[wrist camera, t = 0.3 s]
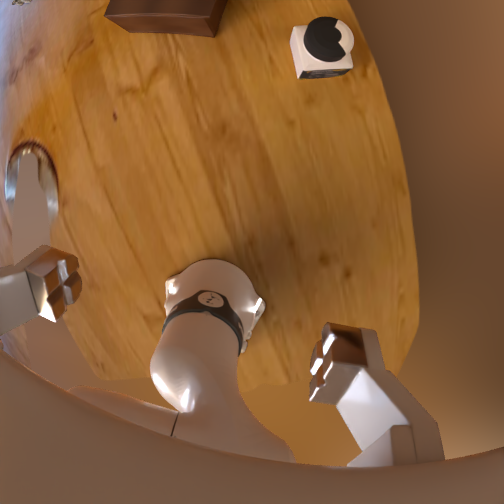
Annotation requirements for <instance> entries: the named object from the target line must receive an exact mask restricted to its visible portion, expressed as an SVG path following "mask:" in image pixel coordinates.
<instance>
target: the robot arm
mask: <svg viewBox="0 0 504 504" xmlns="http://www.w3.org/2000/svg"><path fill="white" fill-rule="evenodd" d="M78 268H79V263H78V258H77V257H76V256H74V255H72V254H70V253H67V252H64V251H61V250H59V249H56V248H53V247H50V246H48V245H41V246H40V247H39V248H37V249H36V250H34V251H33V252H32V253H30V254H29V255H28V256H26V257H25V258H24V259H22V260H21V261H20V262H19V263H17V264H16V265H15V266H14V265H9V266H5V267H2V268H0V336H1V335H3V334H5V333H7V332H9V331H11V330H12V329H14V328H16V327H18V326H20V325H22V324H24V323H26V322H28V321H30V320H32V319H34V318H36V317H38V316H39V315H41V316H43V317H45V318H47V319H49V320H51V321H53V322H57V321H58V320H59V319H60V317H61V316H62V315H63V314H64V313H65V312H66V311H67V305H70V304H73V303H74V302H75V301H76V300H77V299H78V298H79V295H80V293H81V290H82V281H81V277H80V275H79V274H78V272H77V270H78ZM165 288H166V301H165V304H164V307H165V308H166V315H167V317H166V319H165V322H164V325H163V329H162V336H161V339H160V341H159V343H158V345H157V347H156V349H155V351H154V354H153V356H152V358H151V363H150V373H151V377H152V380H153V382H154V384H155V386H156V388H157V390H158V391H159V393H160V394H161V395H162V396H163V398H165V399H166V400H167V401H168V402H169V403H170V404H172V405H173V406H174V407H175V408H176V409H177V410H178V411H179V412H180V413H179V412H178V411H175V410H171V409H168V408H164V407H161V406H157V405H154V404H151V403H148V402H145V401H142V400H139V399H136V398H133V397H130V396H128V395H125V394H122V393H119V392H114V391H109V390H104V389H98V388H93V387H88V386H83V385H78V386H75V387H73V388H71V389H69V390H68V391H65V390H64V389H62V388H60V387H58V386H57V385H55V384H53V383H51V382H49V381H48V380H46V379H45V378H43V377H41V376H40V375H38V374H37V373H35V372H34V371H32V370H30V369H29V368H27V367H26V366H24V365H23V364H21V363H20V362H18V361H17V360H16V359H14V358H13V357H11V356H10V355H9V354H7V353H6V352H4V351H3V343H2V341H1V339H0V504H504V447H501V448H497V449H494V450H490V451H486V452H482V453H478V454H474V455H470V456H465V457H459V458H454V459H449V460H445V457H444V451H443V447H442V442H441V437H440V432H439V428H438V424H437V422H436V421H435V420H434V419H433V418H432V417H431V415H430V414H429V413H428V412H427V411H426V410H425V409H424V408H423V407H422V405H421V404H420V403H419V402H418V401H417V400H416V399H415V398H414V397H413V396H412V394H411V393H409V391H408V390H407V389H406V388H405V387H404V386H403V385H402V384H401V382H400V381H399V380H398V379H397V378H396V377H395V376H394V375H393V374H392V373H391V372H390V371H387V370H385V366H384V362H383V357H382V353H381V349H380V345H379V341H378V337H377V333H376V331H375V330H373V329H366V328H360V327H359V328H357V327H351V326H346V325H341V324H335V323H330V322H327V323H326V324H325V326H324V328H323V330H322V339H321V340H320V341H318V342H317V343H316V345H315V347H314V350H313V353H312V357H311V362H310V372H311V374H312V375H313V378H312V380H311V382H310V395H309V397H310V398H309V401H313V402H319V403H325V404H332V405H337V406H336V407H337V409H338V411H339V412H340V414H341V416H342V418H343V419H344V421H345V423H346V424H347V426H348V428H349V430H350V431H351V433H352V435H353V436H354V438H355V440H356V442H357V443H358V445H359V447H360V448H361V450H362V453H361V454H359V455H358V456H357V457H356V458H355V459H353V460H352V461H351V462H349V463H348V464H347V467H341V466H322V465H309V464H298V463H296V460H295V457H294V455H293V452H292V451H291V449H290V447H289V446H288V445H287V443H286V442H285V441H284V440H283V439H281V438H280V437H278V436H277V435H275V434H273V433H272V432H271V431H269V430H268V429H267V428H266V427H265V426H263V424H261V423H260V422H259V421H258V420H257V418H256V417H255V416H254V415H253V414H252V412H251V411H250V410H249V408H248V407H247V405H246V404H245V402H244V400H243V398H242V396H241V394H240V391H239V388H238V384H237V360H238V357H239V355H240V353H244V351H245V350H246V347H247V342H246V339H248V340H249V339H250V337H251V334H252V333H251V331H252V329H253V328H254V326H255V325H256V323H257V321H258V320H259V318H260V316H261V315H262V313H263V311H264V309H265V302H264V301H263V300H262V299H261V298H260V297H259V296H258V295H257V294H256V292H255V290H254V288H253V286H252V283H251V281H250V279H249V278H248V277H247V275H246V274H245V273H244V272H243V271H242V270H241V269H239V268H238V267H236V266H235V265H233V264H231V263H229V262H226V261H222V260H216V259H207V260H202V261H198V262H196V263H194V264H192V265H190V266H189V267H188V268H186V269H185V270H184V271H183V272H182V273H180V274H178V275H175V276H172V277H170V278H168V279H167V281H166V283H165ZM256 310H257V312H256Z"/></svg>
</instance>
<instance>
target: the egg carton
mask: <svg viewBox="0 0 504 504" xmlns="http://www.w3.org/2000/svg"><path fill="white" fill-rule="evenodd" d="M31 1H32V0H14V1H13V3H12V5H14V4H16V5H19V6H21V5H23V3H24V2H26V3H30V2H31Z"/></svg>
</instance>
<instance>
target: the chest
mask: <svg viewBox="0 0 504 504" xmlns="http://www.w3.org/2000/svg"><path fill="white" fill-rule="evenodd" d="M227 1H228V0H217V2H216V5H215V8H214V10H213V13H212V16H211V18H199V17H186V16H161V15H144V16H119V17H107V18H108V19H110V20H111V21H113V22H114V23H116V24H117V25H119V26H121V27H122V28H124V29H125V30H127V31H128V32H130V33H136V32H141V33H172V34H186V35H197V36H206V37H214V38H215V36H216V32H217V29H218V26H219V24H220V21H221V18H222V15H223V12H224V9H225V6H226V4H227Z"/></svg>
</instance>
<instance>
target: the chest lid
mask: <svg viewBox="0 0 504 504" xmlns="http://www.w3.org/2000/svg"><path fill="white" fill-rule="evenodd" d="M216 2H217V0H110V2H109V5H108V7H107V10H106V12H105V15H104V16H105V17H119V16H144V15H161V16H186V17H199V18H211V16H212V13H213V10H214V8H215V5H216Z"/></svg>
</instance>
